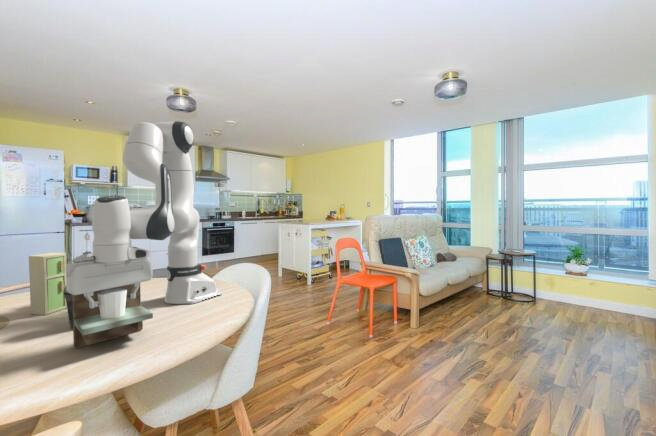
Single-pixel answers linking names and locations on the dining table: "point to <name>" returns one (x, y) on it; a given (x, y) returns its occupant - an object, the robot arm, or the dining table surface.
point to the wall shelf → (97, 329)
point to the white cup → (112, 302)
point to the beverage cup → (69, 307)
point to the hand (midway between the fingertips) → (113, 302)
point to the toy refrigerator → (47, 283)
